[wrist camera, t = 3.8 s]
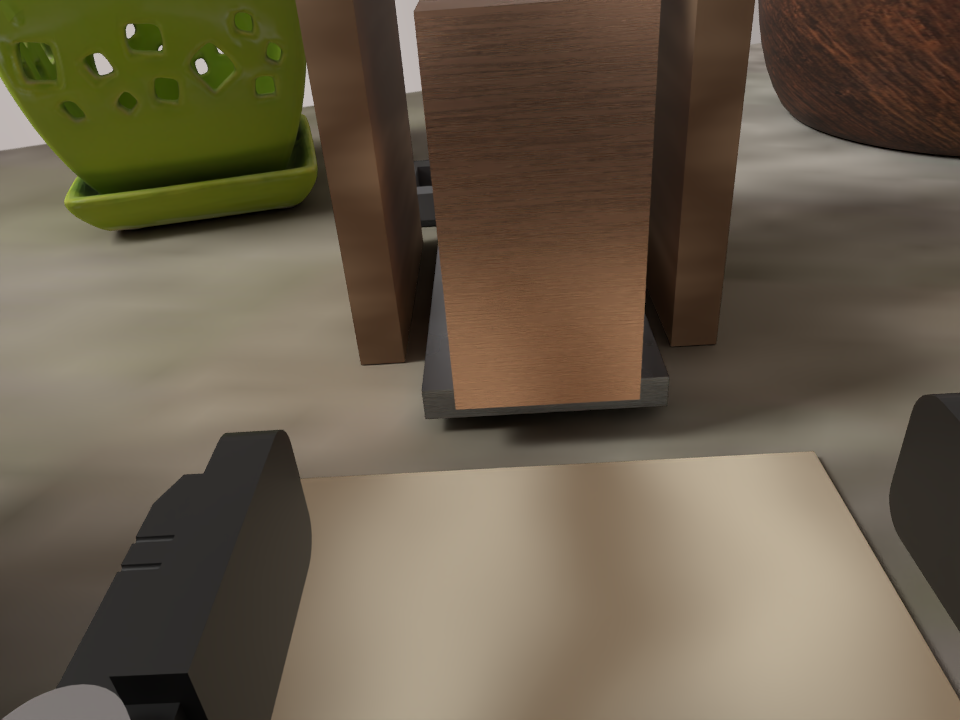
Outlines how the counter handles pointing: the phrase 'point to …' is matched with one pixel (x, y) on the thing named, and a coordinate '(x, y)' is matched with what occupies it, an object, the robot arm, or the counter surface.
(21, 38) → the flower pot
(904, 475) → the robot arm
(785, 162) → the counter surface
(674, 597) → the pad
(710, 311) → the tunnel
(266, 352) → the counter surface
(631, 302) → the tall wood-grain block
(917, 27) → the wooden bowl
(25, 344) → the counter surface
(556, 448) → the counter surface
